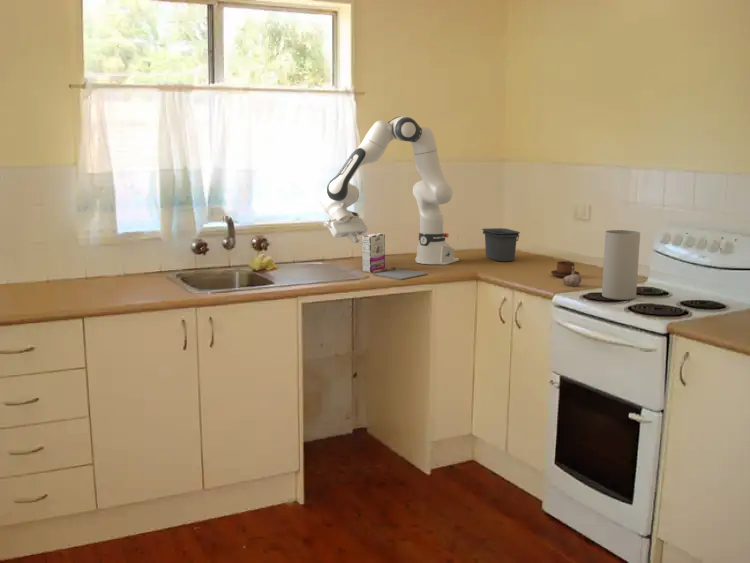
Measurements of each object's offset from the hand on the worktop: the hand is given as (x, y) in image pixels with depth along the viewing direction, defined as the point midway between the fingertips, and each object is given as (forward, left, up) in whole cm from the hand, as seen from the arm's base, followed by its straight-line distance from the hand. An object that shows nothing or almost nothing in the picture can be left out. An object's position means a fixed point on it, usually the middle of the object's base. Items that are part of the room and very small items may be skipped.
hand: (356, 241), depth 370 cm
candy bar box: (0, +10, -12) cm, 16 cm away
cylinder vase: (-22, +117, -12) cm, 120 cm away
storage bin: (-69, +32, -12) cm, 77 cm away
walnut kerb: (0, +17, -12) cm, 21 cm away
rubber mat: (0, +26, -12) cm, 29 cm away
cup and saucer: (-48, +80, -12) cm, 94 cm away
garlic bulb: (-31, +92, -12) cm, 98 cm away
